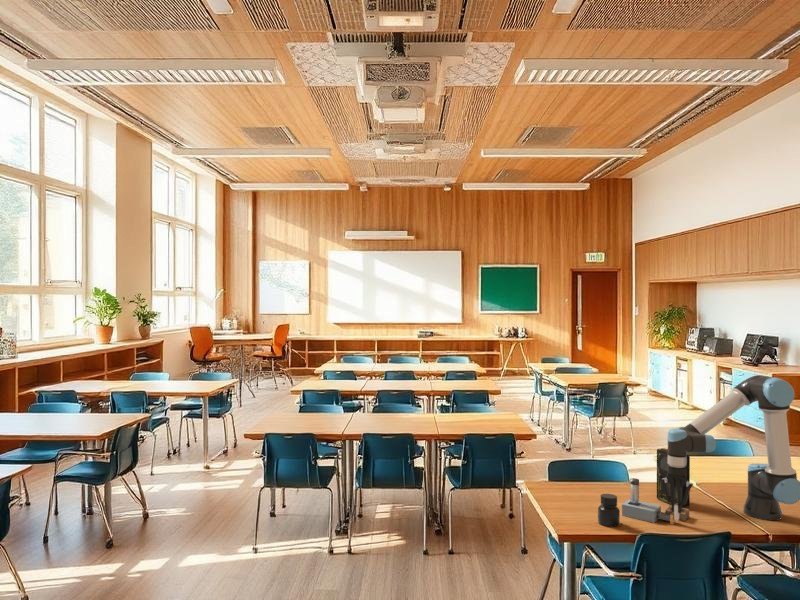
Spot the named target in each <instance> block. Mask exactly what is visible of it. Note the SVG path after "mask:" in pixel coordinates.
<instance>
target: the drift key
mask: <svg viewBox="0 0 800 600" xmlns="http://www.w3.org/2000/svg"><path fill="white" fill-rule="evenodd" d="M657 518H658V520H664V521H668V522H669V524H670V525H674V524H675V523H676V521H677V520H674V512H672V513H671V514H668V513H666V512H663V511H661V512H659V511H658V512H657Z"/></svg>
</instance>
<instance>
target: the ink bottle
mask: <svg viewBox="0 0 800 600" xmlns="http://www.w3.org/2000/svg"><path fill="white" fill-rule="evenodd" d="M620 513H621V512H620V509H619V507H618V496H617V495H615V494H612V493H602V494H600V505H599V506H598V508H597V522H598V523H599V525H602V526H604V527H611V528H612V527H618V526H620V519H621V518H620V516H621V514H620Z"/></svg>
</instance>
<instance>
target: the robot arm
mask: <svg viewBox="0 0 800 600" xmlns="http://www.w3.org/2000/svg"><path fill="white" fill-rule="evenodd" d="M794 399H795V390H794V387H793V385H791V384H790V383H789V382H788V381H786V380H784V379H782V378H779V377H773V376H767V375H763V374H758V375H753V376H750V377H748V378H746V379H744V380H743V381H741V382H740V383H738V384H737V385H736V386H734V387H733V388H732V389H731V392H730V393H728V394H727V395H726V396H725V397H724V398H721V400H719V401H718V402H717V403H716V404H714V405H712V406H711V407H710V408H709V409H707V410H706V411H704V412H703V413H702V414H700V415H699V416H697V417H696V418H695V419H694V420H692V421H691V422H689V423H688V424H687V425H685V426H678V427H677V428H672V429H669V430H668V431H667V449H668V464H669V465H668V474H667V476H666V478H663V479H661V482H662V483H663V486H664V490H665V494H666V498H667V501H668V502H670V503H671V504H672V505H671V506H672V511H673V512H674V520H676V521H678V520H679V513H681V512H682V508H683V507H682V505H685V504H686V503H687V500H688V496H689V493H690V492H691V489H692V487H693V486H694V483H692V482H691V481H690V482H689V481H688V479H687V477H686V465H687V455H688V454H687V453H705V454H706V453H713V452H715V450H716V448H717V447H716V445H717V444H716V442H717V441H716V440H715V437H714V436H713V435H711V434H707V433H709V432H710V431H711V430H713V429H714V428H716V427H717V426H718V425H720V424H721V423H722V422H724V421H725V420H726V419H728V418H729V417H731V416H732V415H733V414H735V413H737V411H739V410H741V409H742V408H743V407H744V406H750V405H751V404H753V403H755V402H757V405H758V410H760V411H762V414H763V415H762V416H763V425H764V434H765V444H766V454H767V463H750V464H748V467H747V497H746V499H745V501H744V504H743V513H744V514H745V515H747V516H749V515H750V516H749V517H752V518H755V517H756V519H759V518H761V519H760V520H765V519H769V520H768V521H778V520H777V519H780V518H782V519H783V511H782V508H781V505H780V504H779V503H782V504H784V505H793V504H796V503H798V502H799V501H800V480H799V479H798V475H797V470H795V469H794V468H793V466H792V458H791V447H790V446H791V445H790V439H789V437H790V436H789V427H788V419H787V418H788V417H787V413H788V411H789V410H791V407H790V406H791V404H792V403H793V401H794ZM667 480H668V481H669V483H670V484H671V489H672V491H671V496H670V491H669V487H668V483H667V482H668V481H667ZM685 484H687V485H686V486H687V488H686V492H685V495H684V499H683V502H682V487H683V486H684V485H685ZM676 487H678V504H675V503H676ZM690 494H691V493H690ZM780 520H781V519H780ZM678 522H679V521H678Z"/></svg>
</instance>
